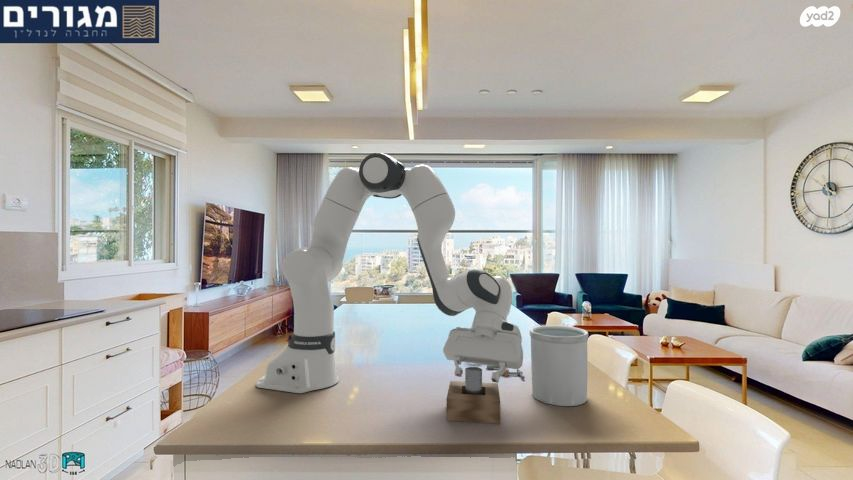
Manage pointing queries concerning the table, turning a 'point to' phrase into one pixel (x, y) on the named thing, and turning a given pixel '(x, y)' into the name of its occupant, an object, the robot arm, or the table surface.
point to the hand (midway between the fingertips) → (475, 378)
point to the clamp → (508, 371)
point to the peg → (473, 381)
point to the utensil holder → (559, 364)
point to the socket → (473, 404)
